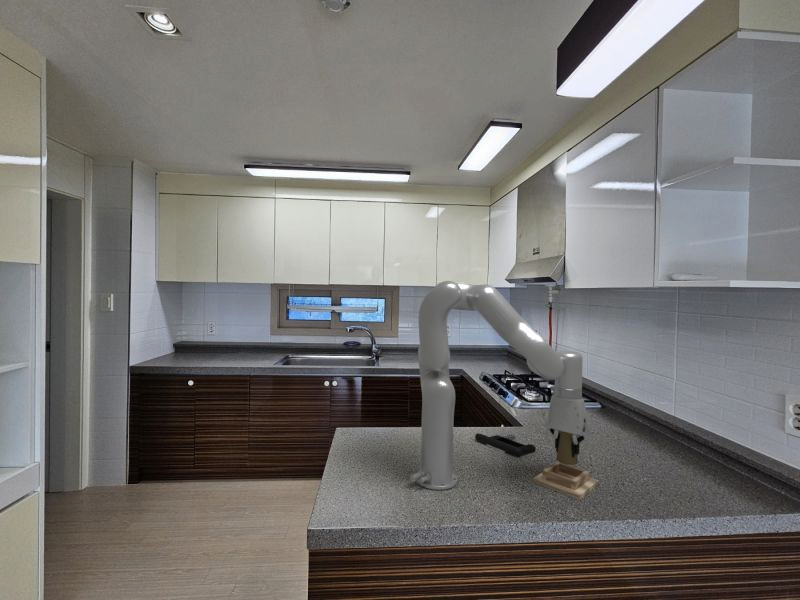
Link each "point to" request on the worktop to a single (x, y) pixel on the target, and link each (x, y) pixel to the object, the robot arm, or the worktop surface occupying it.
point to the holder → (566, 480)
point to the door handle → (505, 444)
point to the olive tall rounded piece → (566, 449)
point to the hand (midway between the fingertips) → (566, 453)
